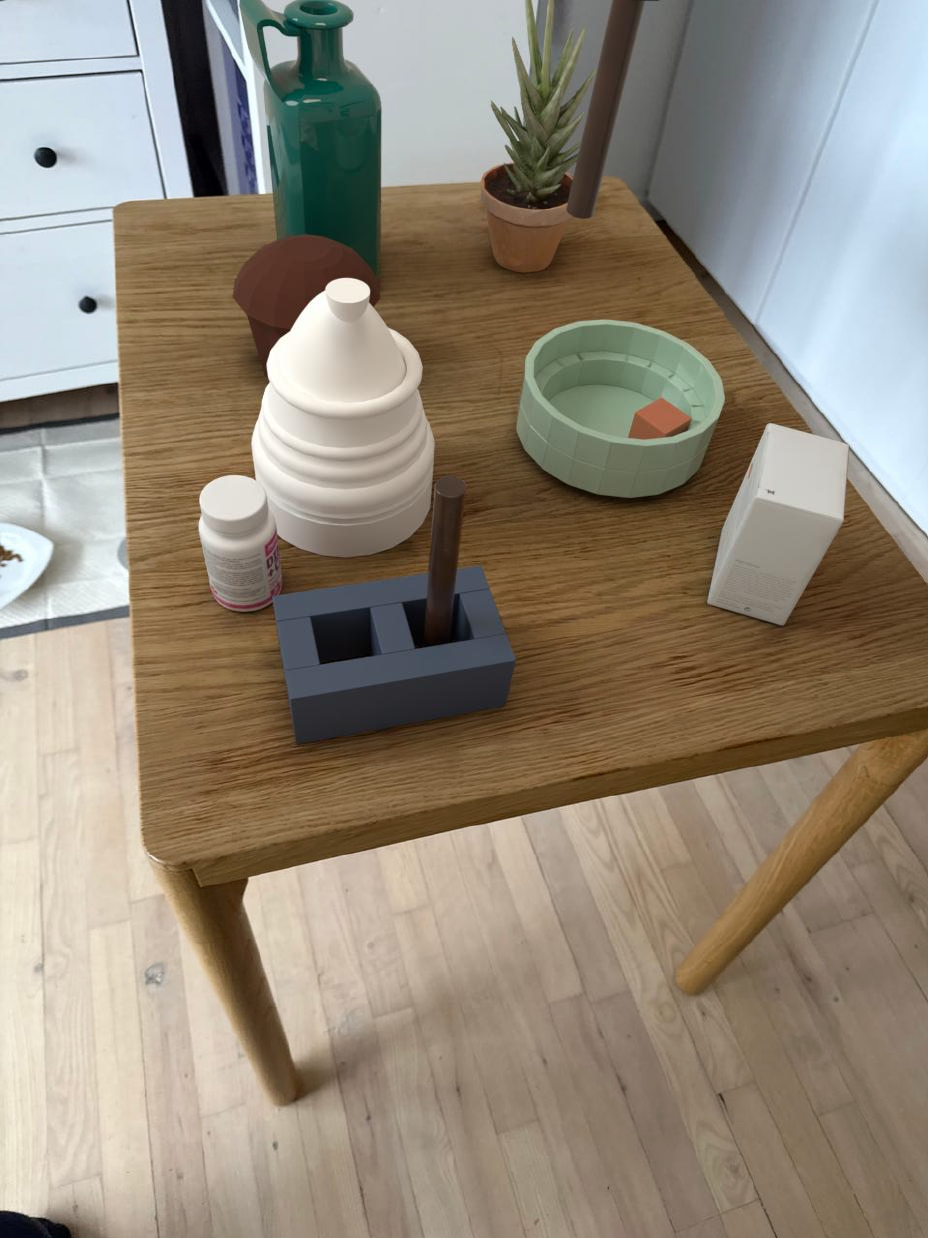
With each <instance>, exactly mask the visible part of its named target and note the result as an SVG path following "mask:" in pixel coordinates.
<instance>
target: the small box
mask: <svg viewBox="0 0 928 1238" xmlns="http://www.w3.org/2000/svg"><path fill="white" fill-rule="evenodd" d="M850 448H851V446H850V444H849V443H845V442H842V441H839V440H835V439H831V438H828V437H824V436H820V435H817V434H814V433H809V432H805V431H801V430H798V429H795V428H791V427H788V426H783V425H779V424H776V423H773V422H772V423H771V422H769V423H767V424H766V425H765V428H764V431H763V433H762V435H761V438H760V440H759V442H758V444H757V447H756V450H755V452H754V453H753V456H752V459H751V461H750V463H749V465H748V468H747V470H746V473H745V475H744V478H743V480H742V481H741V485H740V486H739V489H738V491H737V494H736V496H735V498H734V500H733V503H732V505H731V507H730V510H729V512H728V515H727V516H726V520H725V521H724V524H723V526H722V529H721V533H720V538H719V542H718V547H717V551H716V552H717V553H716V557H715V562H714V567H713V572H712V578H711V583H710V587H709V592H708V595H707V597H708V598H707V600H706V601H707V602H706V603H707V605H709V606H714V607H717V608H720V609H724V610H727V611H731V612H734V613H737V614H741V615H744V616H748V617H751V618H755V619H758V620H762V621H765V622H768V623H772V624H775V625H778V626H785V624H786V623H787V621H788V619H789V617H790V616H791V614H792V612H793V611H794V609H795V607H796V605H797V604H798V602H799V600H800V599H801V597H802V595H803V594H804V591H805V590H806V588H807V587H808V584H809V583H810V581H811V579H812V578H813V576H814V574H815V573H816V571H817V570H818V567H819V565H820V564H821V562H822V560H823V558H824V557H825V555H826V553H827V551H828V549H829V548H830V546H831V544H832V542H833V541H834V539H835V537H836V536H837V534H838V532H839V530H840V529H841V527H842V525H843V524H844V522H845V513H846V499H847V483H848V472H849V459H850V458H849V457H850Z"/></svg>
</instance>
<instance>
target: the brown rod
mask: <svg viewBox="0 0 928 1238" xmlns="http://www.w3.org/2000/svg"><path fill="white" fill-rule="evenodd" d="M645 5H646V1H631V0H611V3H610V7H609V11H608V16H607V21H606V27H605V30H604V35H603V39H602V44H601V48H600V52H599V56H598V57H599V58H598V61H597V67H596V71H595V76H594V79H593V85H592V89H591V94H590V99H589V102H588V108H587V112H586V117H585V121H584V127H583V131H582V135H581V140H580V141H581V144H580V147H579V148H578V153H577V154H578V158H577V162H576V163H575V167H574V172H573V175H572V176H573V181H572V185H571V190H570V194H569V199H568V204H567V208H566V209H567V212H568V213H569V214H570V215H572V217H574V218H577V219H582V220H585V219H591V218H592V217H593V216H594V213H595V210H596V206H597V201H598V197H599V193H600V190H601V186H602V181H603V178H604V173H605V170H606V165H607V162H608V157H609V152H610V149H611V144H612V140H613V137H614V132H615V128H616V124H617V120H618V116H619V112H620V107H621V103H622V99H623V95H624V90H625V87H626V83H627V79H628V75H629V72H630V71H629V70H630V66H631V62H632V58H633V53H634V51H635V46H636V42H637V37H638V34H639V29H640V26H641V21H642V17H643V13H644V9H645Z"/></svg>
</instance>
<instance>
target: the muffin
mask: <svg viewBox="0 0 928 1238" xmlns="http://www.w3.org/2000/svg"><path fill="white" fill-rule="evenodd" d="M341 278H353V279H357V280H360V281H362V282H364V283H366V284H367V285H368V287H369V288H370V298H369V303H370V304H371V305H372V307H373V308H375V306H376V305H377V304H378V303H379V301H380V300H381V285H380V283H381V282H380V280H379V279H377V278H376V276H375V274H374V272H373V270H372V268H371V267H370V266H369V265H368V264H367V263H366V262H365V261H364V260H363V259H362V258H361V257H360V256H359V255H358V254H357V253H356V252H355V251H354V250H353V249H352V248H350V247H348V246H346V245H344V244H341V243H339V242H336V241H334V240H331V239H329V238H326V237H323V236H315V235H307V234H305V235H295V236H288V237H286V238H283V239H280V240H277V239H276V240H275V241H272V242H269V243H267V244H265V245H263V246H262V247H260V248H259V249H257V251H256V252H255V253H253V254H252V255H251V256H250V257H249V258H248V259H247V260H246V261H245V263H243V264H242V266H241V268H240V269H239V271H238V274H237V276H236V278H234V284H233V291H232V293H233V294H232V299H233V300H234V301H235V302H236V304H237V305H238V306H239V307H240V309H241V310H242V311H243V312H244V314H245V316H246V318H247V320H248V323H249V327H250V330H251V334H252V338H253V342H254V345H255V349H256V352H257V356H258V358H259V360H260V364H261V367H262V372H263V374H264V376H266V377H268V372H267V361H268V358H269V354H270V351H271V350H272V348H273V347H274V346H275V344H276V343H277V342H278V341H279V339H280V338H281V337H283V336H284V335H286V334H287V333H288V332H290V331H291V329H292V327H293V325H294V324H295V322H296V320H297V319H298V317H299V316H300V314H301V313H302V311H303V310H304V309H305V308H306V306H307V305H308V304H309V303H310V302H311V301H312V300H313V299H314V298H315V297H316V296H317V295H319V294H320V293H322V292H323V291H325V288H326V286H327V284H329V283H330V282H331V281H333V280H336V279H341Z"/></svg>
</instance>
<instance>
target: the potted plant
mask: <svg viewBox="0 0 928 1238" xmlns="http://www.w3.org/2000/svg"><path fill="white" fill-rule="evenodd" d="M524 7H525V21H526V22H525V23H526V33H527V42H528V52H529V59H530V67H531V74H532V81H531V78H530V76H529V74H528V71H527V69H526V67H525V64H524V62H523V59H522V56H521V54H520V53H521V52H520V51H519V47H518V45H517V42H516V40H515V37H514V36H511V46H512V53H513V57H514V59H513V60H514V63H515V68H516V69H515V70H516V76H517V81H518V86H519V89H520V90H519V95H520V96H519V97H520V104H521V105H520V106H521V110H522V115H523V119H524V123H525V126H524V125H523V123H522V120H521V118H520V115H519V112H518V107H517V106H515V105H514V106H513V111H514V118H513V117H512V116H511V115H510V114H509V113H508V112H507V110H505V108H503V107H502V106H500V107H499V108H498V106H497V105H496V104H495V102H493V100H490V107H491V110H492V112H493V114H494V116H495V118H496V120H497V122H498V124H499V125H500V127H501V129H502V131H504V133H505V134H506V136H507V137H508V139H509V143H510V146H511V148H510V146H509V145H508V144H506V143H505V144H504V148H505V151H506V152H507V155H508V156H509V158H510V159H511V160H512V162H507V163H505V162H503V163H502V164H497V165H495V166H493V167H491V168H489V169H488V170H487V171H485V172H483V174H482V176H481V178H480V201H481V204H482V206H483V208H484V209H485V213H486V218H487V219H486V220H487V224H488V228H489V229H488V230H489V235H490V240H491V249H492V254H493V257H494V259H495V262H496V263H497V265H499V266H501V267H502V268H504V269H506V270H509V271H511V272H515V273H522V274H523V273H533V272H534V273H536V272H540V271H543V270H545V269H546V268H548V267H549V266H550V264H551V263H552V261H553V258H554V256H555V253H556V251H557V249H558V246H559V244H560V242H561V239H562V237H563V235H564V233H565V231H566V229H567V225H568V224H569V221H570V219H571V218H572V217H573V216H572V215H570V214H569V213H568V212H567V209H566V208H567V204H568V199H569V194H570V190H571V185H572V181H573V176H574V175H572V174H570V173H569V172H568V171H569V170H570V168H572V167H573V165H574V164H576V162H577V158H578V153H576V154H574V155H573V156H571V155H572V154H573V153H575V152H576V151H578V150H579V149H580V144H581V140H580V141H578V142H577V143H576V144H574V145H573V146H572V147H571V148H570V149H568V150H566V151H563V152H561V151H562V149H563V148H564V147H565V145H566V144H567V143H568V142H569V140H570V139H571V138H572V136H573V134H574V133H575V132H576V130H577V128H578V126H579V125H580V123H581V121H582V119H583V118H584V115H585V112H584V111H582V112H581V113H580V114H579V115H578V116H576V117H575V118H574V119H573V120H572V118H573V116H574V115H575V113H576V111H577V110H578V108H579V107H580V105H581V103H582V101H583V99H584V97H585V95H586V93H587V91H588V90H589V88H590V86H591V85H592V82H593V81H594V79H595V75H596V71H597V68H596V67H594V68H593V70H592V71H591V72H590V74H589V76H588V77H587V78H586V80H585V81H584V83H583V84H582V85H581V87H580V88H579V89H578V90H576V92H575V93H574V95H573V96H572V97H571V98H570V99H568V101H566V102H565V103H564V104H563V105H562V103H563V99H564V96H565V95H566V91H567V89H568V86H569V85H570V82H571V78H572V76H573V73H574V71H575V68H576V65H577V62H578V59H579V57H580V54H581V50H582V47H583V44H584V40H585V37H586V30H587V25H584V27H583V29H582V31H581V32H580V34H579V37H578V39H577V42H576V44H575V46H574V48H573V42H574V33H575V29H574V28H572V29H571V30H570V33H569V36H568V38H567V41H566V43H565V45H564V48H563V51H562V52H561V56H560V58H559V60H558V63H557V65H556V68H555V70H554V74H553V75H552V78H551V69H552V68H551V65H552V62H551V61H552V42H553V27H554V13H555V11H554V10H555V0H548V3H547V9H546V19H545V20H546V21H545V29H544V38H543V50H542V51H543V52H542V54H541V51H540V44H539V37H538V36H539V35H538V32H537V30H538V29H537V25H536V19H535V12H534V5H533V0H524ZM541 55H542V56H541ZM532 82H533V83H532ZM571 120H572V121H571ZM569 156H571V157H569ZM567 158H568V159H567Z"/></svg>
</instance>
